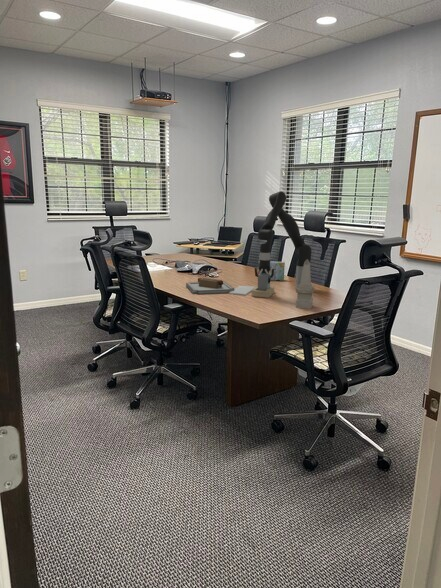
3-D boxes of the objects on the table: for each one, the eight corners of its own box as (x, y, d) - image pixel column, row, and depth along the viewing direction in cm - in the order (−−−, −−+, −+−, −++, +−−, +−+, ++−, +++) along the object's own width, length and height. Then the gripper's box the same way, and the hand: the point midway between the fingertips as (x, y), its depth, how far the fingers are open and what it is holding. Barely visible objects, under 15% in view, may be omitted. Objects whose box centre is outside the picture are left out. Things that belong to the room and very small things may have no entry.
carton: (274, 292, 312) (275, 285, 311) (268, 298, 293) (268, 291, 292) (258, 290, 316) (258, 284, 315) (250, 296, 297) (250, 290, 296)
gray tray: (193, 295, 299) (193, 284, 297) (185, 286, 327) (185, 276, 326) (235, 293, 307) (235, 283, 305) (223, 285, 335) (224, 275, 333)
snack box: (283, 279, 358) (284, 261, 355) (283, 281, 352) (284, 262, 349) (257, 278, 360) (258, 260, 357) (257, 280, 354) (258, 261, 351)
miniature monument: (312, 308, 268) (315, 260, 261) (294, 307, 270) (297, 259, 263) (313, 304, 277) (316, 258, 271) (296, 303, 280) (299, 257, 273)
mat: (255, 288, 323) (255, 286, 323) (245, 295, 299) (245, 294, 299) (239, 286, 327) (240, 285, 327) (229, 293, 303) (229, 292, 303)
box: (269, 289, 308) (270, 272, 305) (266, 292, 297) (266, 275, 294) (261, 288, 310) (262, 272, 307) (257, 292, 299) (258, 275, 296)
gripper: (276, 258, 300) (275, 282, 303) (256, 257, 304) (255, 281, 308) (274, 260, 293) (273, 284, 297) (253, 259, 297) (252, 283, 301)
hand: (264, 282), depth 302 cm, fingers closed on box, 6 cm apart
